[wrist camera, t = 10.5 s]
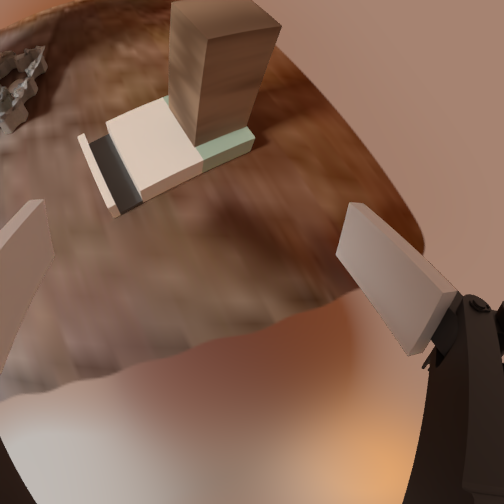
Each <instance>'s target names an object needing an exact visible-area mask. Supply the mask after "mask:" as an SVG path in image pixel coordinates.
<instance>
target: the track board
mask: <svg viewBox="0 0 504 504" xmlns="http://www.w3.org/2000/svg"><path fill="white" fill-rule="evenodd" d="M106 125H107V129H108V132H109V134H108V135H106V136H104V137H102V138H100V139H98V140H96V141H94V142H92V143H90V144H88V142H87V139H86V137H85V134H84V133H83V134H82V135H80V136H78V137H77V138H78V140H79V143H80V145H81V148H82V150H83V153H84V155H85V158H86V160H87V162H88V165H89V167H90V169H91V172H92V174H93V176H94V179H95V181H96V183H97V186H98V188H99V190H100V192H101V194H102V197H103V199H104V201H105V203H106V205H107V207H108V209H109V211H110V213H111V215H112V217H113V218H116V217H118V216H120V215H122V214H123V213H125V212H127V211H129V210H131V209H133V208H134V207H136V206H138V205H140V204H142V203H144V202H146V201H147V200H149V199H151V198H153V197H155V196H157V195H159V194H161V193H163V192H165V191H167V190H169V189H171V188H173V187H175V186H177V185H179V184H181V183H183V182H185V181H187V180H189V179H191V178H193V177H195V176H197V175H199V174H201V173H204V172H206V171H208V170H210V169H212V168H214V167H216V166H219V165H221V164H223V163H225V162H227V161H230V160H232V159H234V158H236V157H239V156H241V155H243V154H245V153H248V152H250V151H251V148H252V145H253V143H254V140H255V136H254V135H253V134H252V132H251V131H250V130H249V128H248V127H247V126H246V127H244V128H241V129H239V130H236V131H234V132H231V133H228V134H226V135H223V136H221V137H218V138H216V139H214V140H211V141H209V142H206V143H204V144H202V145H199V146H197V147H195V148H194V146H193V145H192V143H191V141H190V140H189V138H188V137H187V135H186V134H185V132H184V131H183V129H182V127H181V126H180V124H179V123H178V121H177V120H176V118H175V116H174V115H173V113H172V112H171V110H170V109H169V101H168V96H165V97H163V98H160V99H158V100H155V101H153V102H150V103H148V104H145V105H143V106H140V107H138V108H136V109H134V110H131V111H129V112H127V113H125V114H122V115H120V116H118V117H116V118H114V119H112V120H109V121H107V122H106Z"/></svg>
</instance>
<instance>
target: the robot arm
mask: <svg viewBox="0 0 504 504" xmlns="http://www.w3.org/2000/svg"><path fill="white" fill-rule="evenodd" d="M336 256H337V257H338V259H339V260H340V261H341V263H342V264H343V265H344V267H345V268H346V269H347V271H348V272H349V273H350V275H351V276H352V277H353V279H354V280H355V282H356V283H357V284H358V286H359V287H360V288H361V290H362V291H363V292H364V294H365V295H366V297H367V298H368V299H369V301H370V302H371V304H372V305H373V306H374V308H375V309H376V310H377V312H378V313H379V315H380V316H381V318H382V319H383V320H384V322H385V323H386V325H387V326H388V328H389V329H390V331H391V332H392V334H393V335H394V336H395V338H396V339H397V341H398V342H399V344H400V345H401V347H402V348H403V350H404V351H405V353H406V354H407V356H411V355H415V354H418V353H422V352H423V351H424V350H425V348H426V347H427V345H428V343H429V342H430V340H432V342H433V343H434V344H435V347H434V348H433V350H432V352H431V353H430V355H429V356H428V358H427V359H426V361H425V362H424V364H423V366H422V369H424V368H425V367H426V366H427V365H428V364H430V367H429V369H428V371H429V378H428V387H427V394H426V401H425V408H424V414H423V420H422V426H421V431H420V436H419V442H418V446H417V451H416V455H415V460H414V463H413V468H412V472H411V475H410V479H409V483H408V486H407V490H406V493H405V496H404V500H403V503H402V504H504V363H502V358H501V357H502V356H503V355H504V301H503V302H502V304H501V306H500V307H499V309H498V311H494V310H491V308H490V306H489V305H488V304H487V303H486V302H485V301H484V300H482V299H481V298H479V297H477V296H475V295H470V294H469V295H465V296H464V297H463V296H462V295H461V294H460V293H459V291H457V289H456V288H455V287H454V286H453V285H452V284H451V283H450V282H449V281H448V280H447V279H446V278H445V277H444V276H443V275H442V274H441V273H440V272H439V271H438V270H437V269H436V268H435V267H434V266H433V265H432V264H431V263H430V262H429V261H427V260H426V259H425V258H424V257H423V256H422V255H421V254H420V253H419V252H418V251H417V250H416V249H415V248H414V247H413V246H411V245H410V244H409V243H408V242H407V241H406V240H405V239H404V238H403V237H402V236H400V235H399V234H398V233H397V232H396V231H395V230H394V229H393V228H392V227H390V226H389V225H388V224H387V223H386V222H385V221H384V220H382V219H381V218H380V217H379V216H378V215H377V214H375V213H374V212H373V211H372V210H371V209H370V208H368V207H367V206H366V205H365V204H364V203H353V202H349V205H348V209H347V213H346V217H345V221H344V225H343V229H342V233H341V237H340V240H339V244H338V248H337V251H336ZM54 258H55V254H54V250H53V245H52V240H51V235H50V230H49V225H48V219H47V213H46V207H45V201H44V199H38V200H29V201H28V202H27V203H26V204H25V205H24V206H23V207H22V208H21V209H20V210H19V211H18V212H17V213H16V214H15V215H14V216H13V217H12V218H11V220H10V221H9V222H8V223H7V224H6V225H5V226H4V227H3V228H2V229H1V230H0V374H1V373H2V370H3V368H4V365H5V362H6V360H7V357H8V354H9V352H10V349H11V347H12V344H13V342H14V339H15V337H16V335H17V332H18V330H19V328H20V325H21V323H22V321H23V319H24V316H25V314H26V312H27V310H28V308H29V306H30V304H31V302H32V299H33V297H34V295H35V293H36V291H37V289H38V287H39V285H40V284H41V282H42V280H43V278H44V276H45V274H46V272H47V270H48V268H49V267H50V265H51V263H52V261H53V259H54ZM0 504H37V503H36V502H35V500H34V499H33V497H32V496H31V494H30V492H29V491H28V489H27V487H26V486H25V484H24V482H23V481H22V479H21V477H20V475H19V473H18V472H17V470H16V468H15V466H14V464H13V462H12V460H11V458H10V457H9V454H8V452H7V450H6V448H5V446H4V444H3V442H2V440H1V438H0Z"/></svg>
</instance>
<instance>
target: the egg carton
mask: <svg viewBox="0 0 504 504" xmlns="http://www.w3.org/2000/svg"><path fill="white" fill-rule="evenodd" d="M35 47H36V48H34V49H28V48H25V49H24V52H25V53H23V54H20V55H16V53H15V52H13V51H5V52H0V80H1V78H3V77H5V76H6V75H7V74H8V73H9V72H10V71H11V70H12V69H15V68H17V70H18V72H25V71H26V73H27V75H28V77H29V78H28V77H26V78H25V80H24V79H23V78H20V79H17V80H15V81H14V82H13V83H12V84H11V85H10V86H9V88H8V89H7V87H6V86H1V84H0V127H1V128H2V130H3V132H4V133H5V134H11V133H13V132H14V130H15V128H16V127H17V126H18V125H19V124H21V123H23V122H25V121H26V120H27V117H28V112H27V110H26V108H25V106H24V103H25V102H26V101H27V100H28V99H29V98H31V97H32V96H35V95H36V93H37V91H38V87H37V85H36V82H35V81H34V79H35V78H36V77H37V76H39V75H40V74H42V73H45V72H46V70H47V68H48V66H47V64H46V61H45V59H44V56H43V55H42V54H43V51H44V49H45V46H35ZM13 93H14V94H13ZM11 94H13V96H14V97H15V99H14V100H13V98H12V96H11Z"/></svg>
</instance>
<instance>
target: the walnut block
mask: <svg viewBox="0 0 504 504" xmlns="http://www.w3.org/2000/svg"><path fill="white" fill-rule="evenodd" d="M281 27H282V26H281V25H280V24H279V23H278V22H277V21H276V20H274V19H273V18H272V17H271V16H270V15H269V14H268V13H266V12H265V11H264V10H263V9H262V8H260V7H259V6H258V5H257V4H256V3H254V2H253V1H252V0H180V1H175V2H171V17H170V38H169V84H168V101H169V109H170V110H171V112H172V113H173V115H174V116H175V118H176V120H177V121H178V123H179V124H180V126H181V127H182V129H183V131H184V132H185V134H186V135H187V137H188V138H189V140H190V141H191V143H192V145H193V146H194V148H195V147H197V146H199V145H202V144H204V143H206V142H209V141H211V140H214V139H216V138H218V137H221V136H223V135H226V134H228V133H231V132H234V131H236V130H239V129H241V128H244V127H246V126H247V123H248V120H249V117H250V114H251V111H252V108H253V105H254V102H255V99H256V96H257V93H258V91H259V88H260V85H261V82H262V79H263V76H264V74H265V71H266V68H267V65H268V62H269V60H270V57H271V54H272V52H273V49H274V46H275V43H276V41H277V38H278V35H279V33H280V30H281Z"/></svg>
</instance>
